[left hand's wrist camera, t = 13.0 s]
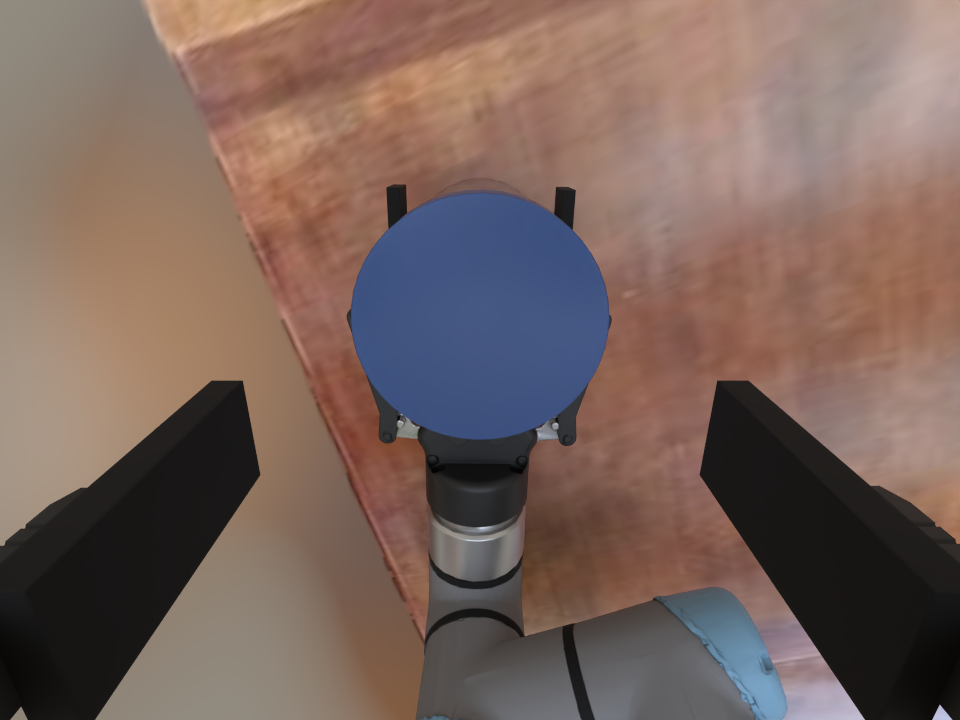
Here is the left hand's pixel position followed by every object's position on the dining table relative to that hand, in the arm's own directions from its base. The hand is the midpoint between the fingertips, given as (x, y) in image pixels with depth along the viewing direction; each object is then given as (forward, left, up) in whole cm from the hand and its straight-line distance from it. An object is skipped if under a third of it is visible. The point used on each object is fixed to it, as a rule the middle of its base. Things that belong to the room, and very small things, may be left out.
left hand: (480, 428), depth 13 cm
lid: (0, 0, -8) cm, 8 cm away
